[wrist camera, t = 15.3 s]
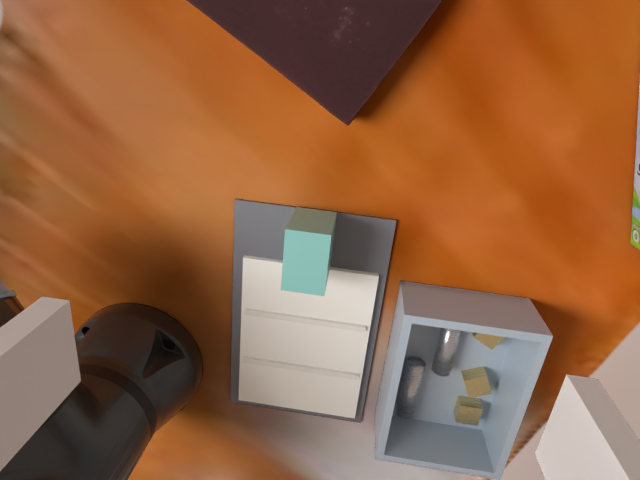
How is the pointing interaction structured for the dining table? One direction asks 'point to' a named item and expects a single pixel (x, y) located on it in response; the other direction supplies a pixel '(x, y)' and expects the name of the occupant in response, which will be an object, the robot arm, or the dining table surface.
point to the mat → (348, 253)
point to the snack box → (636, 190)
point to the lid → (305, 322)
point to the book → (326, 42)
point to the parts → (474, 378)
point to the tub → (459, 378)
